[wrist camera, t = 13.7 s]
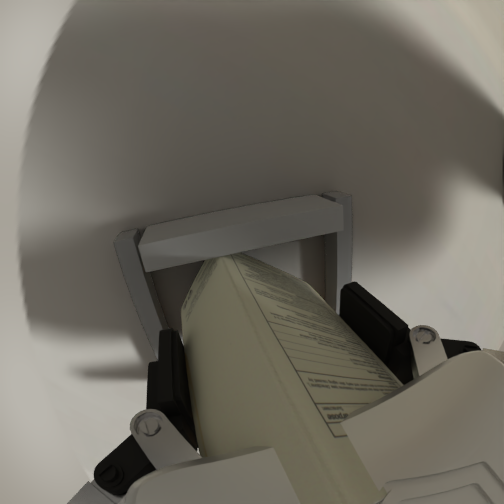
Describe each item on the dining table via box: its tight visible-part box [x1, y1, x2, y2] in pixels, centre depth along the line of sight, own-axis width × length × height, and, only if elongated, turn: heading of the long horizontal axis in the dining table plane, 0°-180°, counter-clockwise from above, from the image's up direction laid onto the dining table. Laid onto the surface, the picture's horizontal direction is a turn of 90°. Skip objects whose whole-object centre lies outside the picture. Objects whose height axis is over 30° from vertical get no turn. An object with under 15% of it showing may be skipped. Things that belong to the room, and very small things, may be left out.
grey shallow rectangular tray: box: [114, 191, 352, 360], centre depth 15 cm, size 12×18×4 cm, turn 8°
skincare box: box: [181, 252, 403, 504], centre depth 9 cm, size 6×4×12 cm
